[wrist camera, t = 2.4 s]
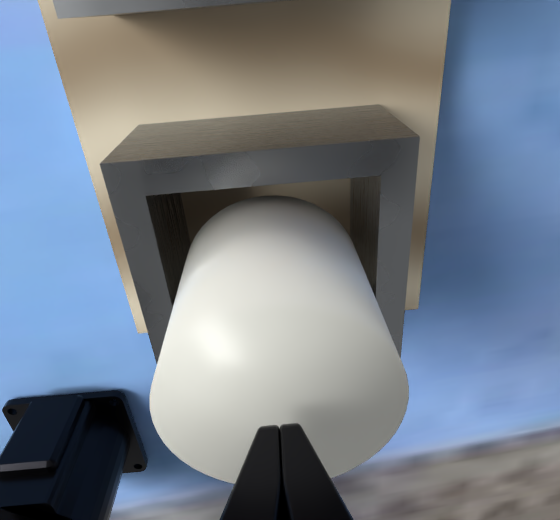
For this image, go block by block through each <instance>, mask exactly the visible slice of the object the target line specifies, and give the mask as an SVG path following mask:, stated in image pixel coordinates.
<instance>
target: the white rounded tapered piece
mask: <svg viewBox="0 0 560 520" xmlns="http://www.w3.org/2000/svg"><path fill="white" fill-rule="evenodd" d="M149 399H150V413H151V417H152V421H153V424H154V426H155V428H156V431H157V433H158V435H159V436H160V438H161V439H162V441H163V442H164V444H165V445H166V446H167V447H168V448H169V449H170V450H171V452H172V453H174V454H175V455H176V456H177V457H178V458H179V459H180V460H182V461H183V462H185V463H186V464H188V465H189V466H191V467H192V468H194V469H196V470H198V471H200V472H201V473H203V474H206V475H208V476H211V477H213V478H216V479H218V480H222V481H225V482H229V483H233V484H235V482H236V480H237V477H238V475H239V473H240V470H241V468H242V466H243V463H244V461H245V458H246V456H247V454H248V451H249V449H250V446H251V444H252V442H253V439H254V437H255V435H256V432H257V430H258V428H259V427H261V426H268V425H277V426H279V429H280V426H281V425H282V424H291V423H298V424H300V425H301V427H302V428H303V430H304V432H305V434H306V435H307V437H308V439H309V441H310V443H311V444H312V446H313V448H314V450H315V452H316V453H317V455H318V457H319V459H320V461H321V462H322V464H323V466H324V468H325V470H326V471H327V473H328V475H329V477H330V478H333V477H336V476H338V475H341V474H343V473H346V472H348V471H349V470H351V469H353V468H355V467H357V466H359V465H361V464H362V463H364V462H365V461H367V460H368V459H370V458H371V457H372V456H374V455H375V454H376V453H377V452H379V451H380V450H381V449H382V448H383V447H384V446H385V445H386V444H387V443H388V442H389V440H390V439H391V438H392V436H393V435H394V434H395V433H396V431H397V429H398V428H399V426H400V424H401V422H402V420H403V417H404V415H405V412H406V409H407V404H408V399H409V386H408V380H407V375H406V372H405V369H404V367H403V364H402V361H401V359H400V357H399V354H398V352H397V349H396V347H395V344H394V342H393V340H392V337H391V335H390V332H389V330H388V327H387V325H386V322H385V320H384V318H383V315H382V313H381V310H380V308H379V305H378V303H377V301H376V298H375V296H374V293H373V291H372V288H371V286H370V284H369V281H368V279H367V276H366V274H365V271H364V269H363V267H362V264H361V262H360V259H359V257H358V254H357V252H356V249H355V247H354V245H353V242H352V240H351V238H350V236H349V235H348V233H347V231H346V230H345V229H344V227H343V226H342V225H341V223H340V222H339V221H338V220H336V219H335V218H334V217H333V216H332V215H331V214H329V213H328V212H327V211H325V210H324V209H322V208H320V207H318V206H317V205H315V204H313V203H310V202H307V201H305V200H302V199H298V198H293V197H289V196H278V195H272V196H259V197H252V198H249V199H245V200H242V201H239V202H237V203H234V204H232V205H229V206H228V207H226V208H224V209H222V210H221V211H219V212H218V213H216V214H215V215H214V216H213V217H211V218H210V219H209V220H208V221H207V222H206V223H205V224H204V225H203V226H202V227H201V229H200V230H199V232H198V233H197V234H196V236H195V238H194V240H193V242H192V243H191V246H190V249H189V252H188V254H187V258H186V262H185V265H184V269H183V273H182V276H181V280H180V283H179V287H178V291H177V294H176V298H175V302H174V305H173V309H172V312H171V316H170V320H169V323H168V327H167V331H166V334H165V338H164V341H163V345H162V349H161V352H160V356H159V359H158V363H157V367H156V370H155V374H154V378H153V381H152V385H151V391H150V397H149Z"/></svg>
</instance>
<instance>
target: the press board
mask: <svg viewBox="0 0 560 520" xmlns="http://www.w3.org/2000/svg"><path fill="white" fill-rule="evenodd" d="M38 3H39V6H40V10H41V13H42V16H43V20H44V23H45V26H46V30H47V33H48V36H49V40H50V43H51V46H52V49H53V53H54V56H55V59H56V63H57V66H58V69H59V73H60V76H61V79H62V83H63V86H64V89H65V93H66V96H67V99H68V102H69V106H70V109H71V112H72V116H73V119H74V122H75V126H76V129H77V132H78V136H79V139H80V142H81V146H82V149H83V152H84V156H85V159H86V162H87V165H88V169H89V172H90V175H91V179H92V182H93V185H94V189H95V192H96V195H97V199H98V202H99V205H100V209H101V212H102V215H103V218H104V222H105V225H106V228H107V232H108V235H109V238H110V242H111V245H112V248H113V252H114V255H115V258H116V262H117V265H118V268H119V272H120V275H121V278H122V281H123V285H124V288H125V291H126V295H127V298H128V301H129V305H130V308H131V311H132V315H133V318H134V321H135V325H136V328H137V331H138V333H148V331H147V328H146V324H145V321H144V317H143V314H142V310H141V307H140V303H139V300H138V296H137V293H136V289H135V286H134V282H133V279H132V275H131V272H130V268H129V265H128V262H127V258H126V255H125V251H124V248H123V244H122V241H121V237H120V234H119V230H118V227H117V223H116V220H115V216H114V213H113V209H112V206H111V202H110V199H109V195H108V192H107V188H106V185H105V181H104V178H103V174H102V171H101V167H100V163H101V162H102V161H103V160H104V159H105V158H106V157H107V156H108V155H109V154H110V153H111V152H112V151H113V150H114V149H115V148H116V147H117V146H118V145H119V144H120V143H121V142H122V141H123V140H124V139H125V138H126V137H127V136H128V135H129V134H130V133H131V132H132V131H133V130H134V129H135V128H136V127H137V126H138V125H140V124H152V123H164V122H176V121H188V120H199V119H211V118H223V117H235V116H246V115H258V114H270V113H282V112H293V111H305V110H317V109H329V108H341V107H352V106H364V105H376V104H379V105H381V106H382V107H383V108H385V109H386V110H387V111H388V112H390V113H391V114H392V115H393V116H395V117H396V118H397V119H398V120H400V121H401V122H402V123H404V124H405V125H406V126H407V127H409V128H410V129H411V130H412V131H414V132H415V133H416V134H418V135H419V136H420V142H419V154H418V165H417V177H416V188H415V199H414V211H413V222H412V233H411V245H410V256H409V267H408V279H407V290H406V302H405V310H412V309H418V305H419V295H420V286H421V277H422V267H423V258H424V249H425V239H426V230H427V220H428V211H429V202H430V192H431V183H432V174H433V164H434V155H435V145H436V136H437V127H438V117H439V108H440V99H441V89H442V80H443V71H444V61H445V52H446V42H447V33H448V24H449V14H450V5H451V0H293V1H281V2H269V3H257V4H245V5H233V6H221V7H209V8H197V9H185V10H173V11H161V12H149V13H137V14H125V15H113V16H97V17H80V18H63V19H58V18H57V14H56V11H55V7H54V4H53V0H38ZM350 186H351V178H346V179H334V180H323V181H311V182H299V183H288V184H276V185H264V186H253V187H241V188H229V189H218V190H206V191H194V192H183V193H181V198H182V203H183V208H184V213H185V218H186V223H187V228H188V233H189V238H190V243H192V242H193V240H194V238H195V236H196V234H197V233H198V232H199V230H200V229H201V227H202V226H203V225H204V224H205V223H206V222H207V221H208V220H209V219H210V218H211V217H213V216H214V215H215V214H216V213H218V212H219V211H221V210H222V209H224V208H226V207H228V206H229V205H232V204H234V203H237V202H239V201H242V200H245V199H249V198H252V197H259V196H272V195H278V196H289V197H293V198H298V199H302V200H305V201H307V202H310V203H313V204H315V205H317V206H318V207H320V208H322V209H324V210H325V211H327V212H328V213H329V214H331V215H332V216H333V217H334V218H335V219H336V220H338V221H339V222H340V223H341V225H342V226H343V227H344V229H345V230H346V231H347V233H348V235H349V236H350Z"/></svg>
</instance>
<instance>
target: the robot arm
mask: <svg viewBox="0 0 560 520" xmlns="http://www.w3.org/2000/svg"><path fill="white" fill-rule="evenodd" d="M113 399H114V400H113ZM2 411H3V414H4V415H5V417H6V419H7V421H8V422H9V424H10V426H11V428H12V429H13V431H14V432H13V434H12V436H11V437H10V439H9V441H8V443H7V444H6V446H5V448H4V450H3V451H2V453H1V455H0V520H109V518H110V514H111V511H112V507H113V504H114V500H115V497H116V493H117V490H118V486H119V483H120V479H121V476H122V473H130V472H141V471H144V470H145V469H146V467H147V463H148V459H147V457H146V454H145V451H144V448H143V445H142V442H141V440H140V437H139V434H138V431H137V428H136V425H135V423H134V420H133V417H132V414H131V411H130V408H129V406H128V403H127V400H126V397H125V395H124V394H123V393H122V392H120V391H103V392H92V393H80V394H69V395H58V396H46V397H35V398H23V399H12V400H9V401H7V402H6V404H5V406H4V407H3V409H2ZM220 520H353V518H352V516H351V514H350V513H349V511H348V509H347V507H346V505H345V504H344V502H343V500H342V498H341V496H340V495H339V493H338V491H337V489H336V487H335V486H334V484H333V482H332V480H331V478H330V477H329V475H328V473H327V471H326V470H325V468H324V466H323V464H322V462H321V461H320V459H319V457H318V455H317V453H316V452H315V450H314V448H313V446H312V444H311V443H310V441H309V439H308V437H307V435H306V434H305V432H304V430H303V428H302V427H301V425H300V424H298V423H291V424H282V425H281V426H280V429H279V426H277V425H268V426H261V427H259V428H258V430H257V432H256V435H255V437H254V439H253V442H252V444H251V446H250V449H249V451H248V454H247V456H246V458H245V461H244V463H243V466H242V468H241V470H240V473H239V475H238V477H237V480H236V482H235V485H234V487H233V489H232V492H231V494H230V497H229V499H228V501H227V504H226V506H225V508H224V511H223V513H222V516H221V518H220Z"/></svg>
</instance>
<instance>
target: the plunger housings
mask: <svg viewBox="0 0 560 520" xmlns="http://www.w3.org/2000/svg"><path fill="white" fill-rule="evenodd" d="M281 1H293V0H53V4H54V7H55V11H56V14H57V18H58V19H63V18H80V17H97V16H113V15H125V14H137V13H149V12H161V11H173V10H185V9H197V8H209V7H221V6H233V5H245V4H257V3H269V2H281ZM419 142H420V136H419V135H418V134H416V133H415V132H414V131H412V130H411V129H410V128H409V127H407V126H406V125H405V124H404V123H402V122H401V121H400V120H398V119H397V118H396V117H395V116H393V115H392V114H391V113H390V112H388V111H387V110H386V109H385V108H383V107H382V106H381V105H379V104H376V105H364V106H352V107H341V108H329V109H317V110H305V111H293V112H282V113H270V114H258V115H246V116H235V117H223V118H211V119H199V120H188V121H176V122H164V123H152V124H140V125H138V126H137V127H136V128H135V129H134V130H133V131H132V132H131V133H130V134H129V135H128V136H127V137H126V138H125V139H124V140H123V141H122V142H121V143H120V144H119V145H118V146H117V147H116V148H115V149H114V150H113V151H112V152H111V153H110V154H109V155H108V156H107V157H106V158H105V159H104V160H103V161H102V162H101V163H100V167H101V171H102V174H103V178H104V181H105V185H106V188H107V192H108V195H109V199H110V202H111V206H112V209H113V213H114V216H115V220H116V223H117V227H118V230H119V234H120V237H121V241H122V244H123V248H124V251H125V255H126V258H127V262H128V265H129V268H130V272H131V275H132V279H133V282H134V286H135V289H136V293H137V296H138V300H139V303H140V307H141V310H142V314H143V317H144V321H145V324H146V328H147V331H148V335H149V338H150V342H151V345H152V349H153V352H154V356H155V359H156V363H158V359H159V356H160V352H161V349H162V345H163V341H164V338H165V334H166V331H167V327H168V323H169V320H170V316H171V312H172V309H173V305H174V302H175V298H176V294H177V291H178V287H179V283H180V280H181V276H182V273H183V269H184V265H185V262H186V258H187V254H188V252H189V249H190V246H191V243H190V238H189V233H188V228H187V223H186V218H185V213H184V208H183V203H182V198H181V193H183V192H194V191H206V190H218V189H229V188H241V187H253V186H264V185H276V184H288V183H299V182H311V181H323V180H334V179H346V178H351V186H350V238H351V240H352V242H353V245H354V247H355V249H356V252H357V254H358V257H359V259H360V262H361V264H362V267H363V269H364V271H365V274H366V276H367V279H368V281H369V284H370V286H371V288H372V291H373V293H374V296H375V298H376V301H377V303H378V305H379V308H380V310H381V313H382V315H383V318H384V320H385V322H386V325H387V327H388V330H389V332H390V335H391V337H392V340H393V342H394V344H395V347H396V349H397V352H398V354H399V357H400V358H401V347H402V336H403V324H404V313H405V302H406V290H407V279H408V267H409V256H410V245H411V233H412V222H413V211H414V199H415V188H416V177H417V165H418V154H419Z"/></svg>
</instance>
